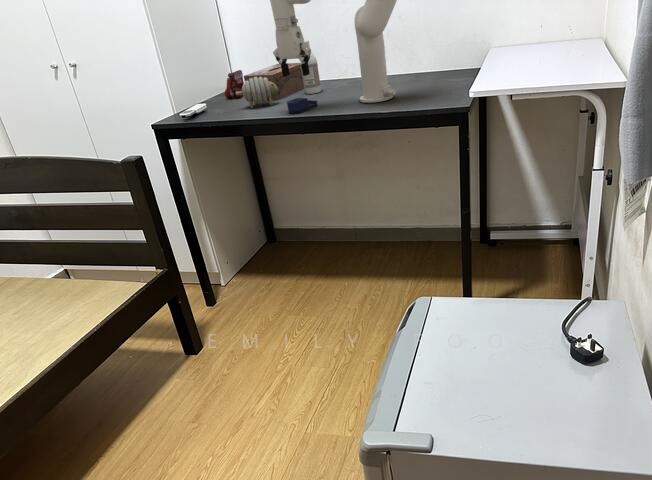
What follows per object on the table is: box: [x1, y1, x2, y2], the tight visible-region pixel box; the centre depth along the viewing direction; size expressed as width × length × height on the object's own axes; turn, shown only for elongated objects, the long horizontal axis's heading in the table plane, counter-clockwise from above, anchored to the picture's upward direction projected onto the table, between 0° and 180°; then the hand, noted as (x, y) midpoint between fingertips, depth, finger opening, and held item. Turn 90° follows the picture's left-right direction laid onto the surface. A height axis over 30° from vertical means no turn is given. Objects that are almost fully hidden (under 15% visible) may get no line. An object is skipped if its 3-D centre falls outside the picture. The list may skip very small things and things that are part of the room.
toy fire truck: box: [224, 69, 245, 99], centre depth 244 cm, size 7×12×10 cm, turn 158°
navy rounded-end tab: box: [286, 97, 318, 115], centre depth 207 cm, size 12×5×4 cm, turn 145°
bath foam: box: [299, 40, 322, 95], centre depth 230 cm, size 7×7×20 cm
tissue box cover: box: [243, 62, 305, 101], centre depth 240 cm, size 26×14×10 cm, turn 155°
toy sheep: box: [235, 77, 278, 109], centre depth 221 cm, size 11×17×11 cm, turn 106°
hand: (296, 75), depth 201 cm, fingers open, 9 cm apart
